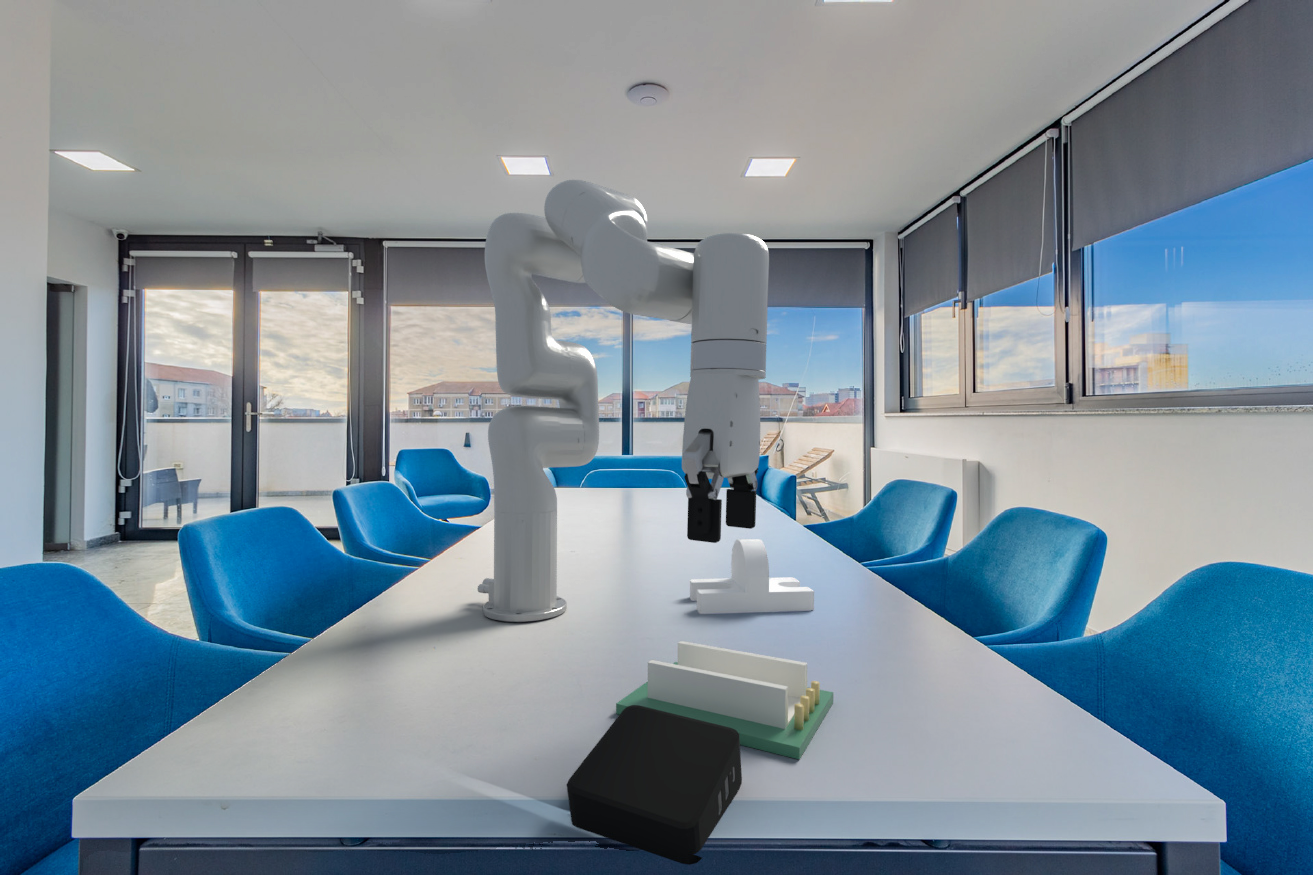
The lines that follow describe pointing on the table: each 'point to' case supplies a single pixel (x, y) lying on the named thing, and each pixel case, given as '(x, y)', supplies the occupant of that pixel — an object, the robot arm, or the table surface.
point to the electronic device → (657, 782)
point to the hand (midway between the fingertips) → (723, 533)
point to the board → (738, 695)
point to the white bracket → (750, 586)
